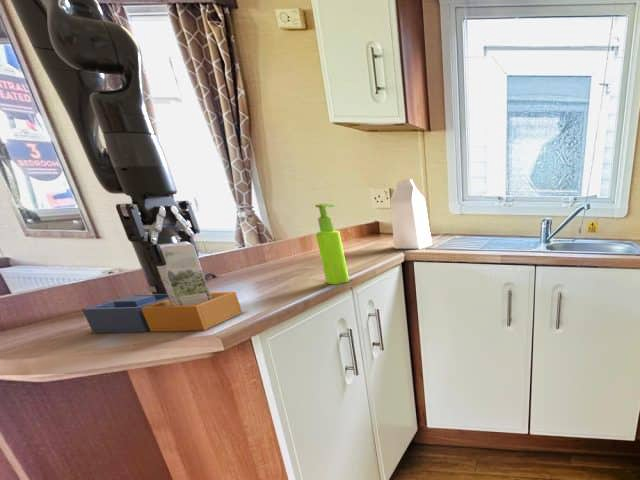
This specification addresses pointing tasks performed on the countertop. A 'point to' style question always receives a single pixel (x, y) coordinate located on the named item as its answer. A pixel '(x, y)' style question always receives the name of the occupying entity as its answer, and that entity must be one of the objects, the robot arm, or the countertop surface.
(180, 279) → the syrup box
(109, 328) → the slate bin
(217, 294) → the honey bin
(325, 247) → the soap dispenser
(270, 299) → the countertop surface
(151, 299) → the slate block
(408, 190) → the milk
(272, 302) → the countertop surface
